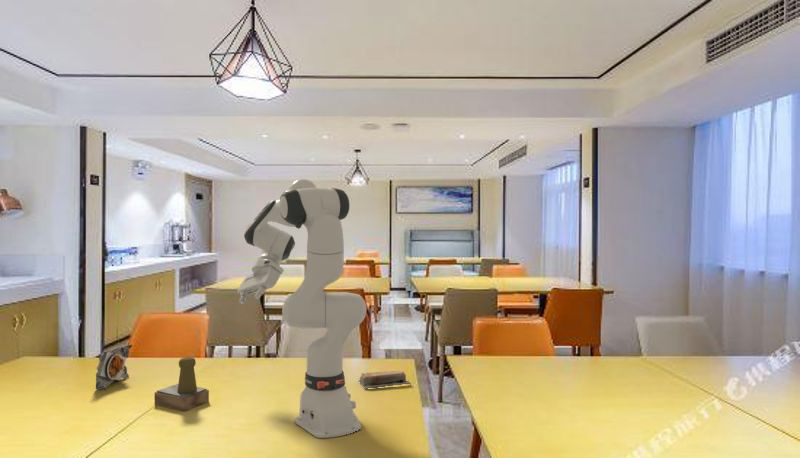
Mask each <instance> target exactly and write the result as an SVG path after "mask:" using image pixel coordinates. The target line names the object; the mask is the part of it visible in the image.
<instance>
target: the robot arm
mask: <svg viewBox="0 0 800 458" xmlns="http://www.w3.org/2000/svg"><path fill="white" fill-rule="evenodd" d="M349 212H350V199H349V196H348V194H347V193H346V191H344V190H343V189H340V188H335V187H331V188H327V187H326V188H324V187H317V185H316V184H315V183H314V182H312V181H310V180H308V179H306V178H305V179H304V178H301V179H297V180H294V182H292V184H291V185H290V186H288V188H287V189H286V191H284V192H282V194H281V195H280V197H279V199H272V200H271V201H269V202H268V203H267V204H266V205H265V207H263V208H262V209H261V211H260V212H259V213H258V214H257V216H256V217H255V218H254V219H253V220H252V221H250V223H248V225H247V226H246V228H245V230H244V234H243V237H244V240H245V242H246V244H249V245H250V246H253V247H257V248H259V249H260V250H261V252H260V253H261V254H260V255H258V257H257V259H256V260H255V262H254V264H253V266H252V268H251V271H252V274H249V275H247V276H246V277H245V278H244V279H243V281H241V283H240V285H239V287H238V288H237V293H238V294H240V298H239V304H241V305H243V304H245V303H246V302H247V297H248V296H250V295H253V294H254V295H253V298H254V299H255V300H259V299H260V298H261V297H262V295H263V294H264V293H265V292H266V290H269V289H272V288H273V287H275V286H276V284H277V283H278V281H279V279H280V277H281V275H282V274H284V271H285V269H284V268H283V267H282V266H280V264H281V263H282V262H283V261H286V260H287V259H289V257H290V255H291V252H292V250H293V249H294V248H295V244H296V242H295V238H294V237H293V235H292V234H290V233H288V232H286V231H284V230H282V229H280V228H279V227H276V226H274V225H272V224H270V223H269V222H272V223H278V224H279V225H283V226H286V227H290V228H294V227H295V228H296V229H298V230H299V229H301V227H302V226H304V227H305V228H306V230H307V231H306V232H307V243H306V267H305V269H306V270H305V275H304V278H303V280H302V282H301V284H300V286H299V287H298V288H297V289H296V290H295V291H293V293H291V294H290V295H289V296H288V297H287V298H286V299H285V301H284V302H283V305H282V309H281V310H282V311H281V314H282V318H283V320H284V322H285V323H286V324H287V326H288V327H290V328H295V329H296V328H297V329H303V330H304V329H305V330H306V329H327V331H326V333H325V334H324V335H323V336H321V337H320V338H317V339H315V340H314V341H312V342H311V343H310V344H309V345H308V347H307V349H306V372H305V376H304V384H305V388H303V390H302V392H301V393H300V396H299V398H300V399H299V412H298V414H299V415H298V416H296V417H295V418H294V423H295V424H296V425H297V426H299V427H301V428H302V429H303V430H305V431H307V432H308V433H310V434H311V435H312V436H313V437H315V438H316V439H317V438H320V439H324V438H325V439H327V438H335V437H336V438H337V437H341V436H347V435H350V433H351V434H354V433H356V432H355V431H357V432H359V431H360V430H362V425H361V423H360V421H359V418H358V417H357V415H356V413H355V411H354V410H355V409H356V408H357V405H356V404H357V402H356V401H355V400H351V397H352V396H351V393H349V392H348V390H347V386H345V385H346V380H345V379H346V377H345V372H344V370H343V359H344V349H345V345H346V342H347V340H348V338H349V336H350V334H351V333H352V332H353V331H354V329H356V328H357V327H358V326H359V325H361V324H362V322H363V321H364V319H365V318H366V316H367V304H366V301H365V299H364V298H363V297H362V296H361V294H359V293H352V292H347V291H341V292H339V291H333V292H331V291H330V292H328V291H327V292H325V291H324V290H325V288H326V287H328V286H329V285H332V284H333V283H335V282H337V281H338V280H339V279H340V278H341V277H342V275H343V273H344V264H345V263H344V254H345V253H344V251H345V250H344V249H345V248H344V247H345V244H344V242H345V241H344V233H343V227H342V220H344V219H345V218H346V217H348V214H349ZM359 429H360V430H359ZM358 430H359V431H358ZM353 432H354V433H353ZM346 434H347V435H346Z"/></svg>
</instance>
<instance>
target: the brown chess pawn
mask: <svg viewBox="0 0 800 458" xmlns="http://www.w3.org/2000/svg"><path fill="white" fill-rule="evenodd" d="M195 366H196V359H195V357H193V356H185V357H182V358H180V359H179V360H178V367H179V368H180V369H179V378H178V383H177V384H178V391H177V392H178V393H181V394H186V393H192V392H195V391H196V390H197V387H198V386H197V379H196V373H195V372H196V371H195Z"/></svg>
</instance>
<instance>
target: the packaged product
mask: <svg viewBox="0 0 800 458" xmlns="http://www.w3.org/2000/svg"><path fill="white" fill-rule="evenodd" d="M406 375H407V374H406V373H405V372H404V371H401V370H395V371H393V370H392V371H379V372H378V371H377V372H376V371H375V372H363V373H361V376H360V377H359V380H358V383H359V382H360V383H359V384H361V385H362V386H361V385H360V386H361V388H362V387H363V388H364V389H368V388H378V387H385V386H393V385H402V384H410V385H411V384H412V383H411V382H410V381H409V380H408V381H406V380H407V376H406ZM363 388H362V389H363ZM364 389H363V390H364Z"/></svg>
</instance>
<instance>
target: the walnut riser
mask: <svg viewBox="0 0 800 458" xmlns="http://www.w3.org/2000/svg"><path fill="white" fill-rule="evenodd" d="M178 384H179V383H176V384H173V385H170V386H167V387H164V388H161V389H158V390H156V391H155V392H154V406H155V405H156V406H160V407H162V408H168V409H172V410H177V411H181V412H188V411H189V410H191V409H194V408H196V407H199V406H202V405H204V404H206V403H209V401H210V400H209V397H210V396H209V395H210V391H209V389H207V388H205V387H200V386H197V390H196V391H195V392H192V393H186V394H181V393H178V392H177V391H178Z"/></svg>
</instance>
